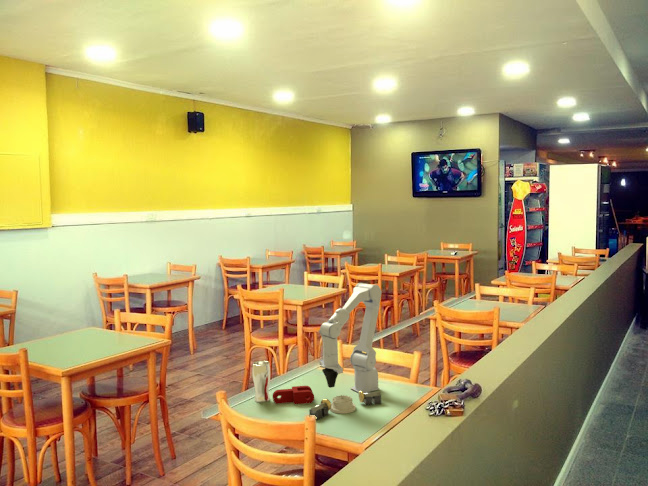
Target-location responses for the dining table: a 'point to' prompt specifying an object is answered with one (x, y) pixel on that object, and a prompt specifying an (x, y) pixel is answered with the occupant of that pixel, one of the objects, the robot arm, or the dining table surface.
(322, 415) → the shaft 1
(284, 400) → the mechanical linkage
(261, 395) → the beer glass
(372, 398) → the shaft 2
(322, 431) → the dining table surface
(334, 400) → the mechanical component
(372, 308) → the robot arm
